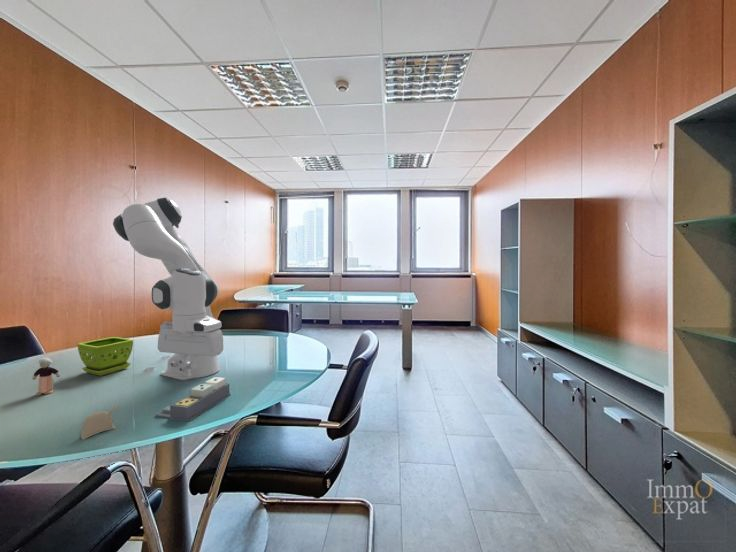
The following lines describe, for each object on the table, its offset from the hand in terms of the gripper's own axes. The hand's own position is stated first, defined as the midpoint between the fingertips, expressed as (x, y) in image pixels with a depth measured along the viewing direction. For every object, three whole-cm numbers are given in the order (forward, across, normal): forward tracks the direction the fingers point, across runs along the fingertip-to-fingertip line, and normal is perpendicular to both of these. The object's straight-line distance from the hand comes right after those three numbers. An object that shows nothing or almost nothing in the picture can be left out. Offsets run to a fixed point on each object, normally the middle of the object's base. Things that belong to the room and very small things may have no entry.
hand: (190, 368), depth 92 cm
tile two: (+12, -1, +5) cm, 13 cm away
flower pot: (+15, -63, +24) cm, 70 cm away
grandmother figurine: (+15, -61, +2) cm, 63 cm away
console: (+14, -3, +5) cm, 15 cm away
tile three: (+14, -1, -1) cm, 14 cm away
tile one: (+11, 0, +11) cm, 16 cm away
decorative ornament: (+15, -17, -13) cm, 26 cm away
